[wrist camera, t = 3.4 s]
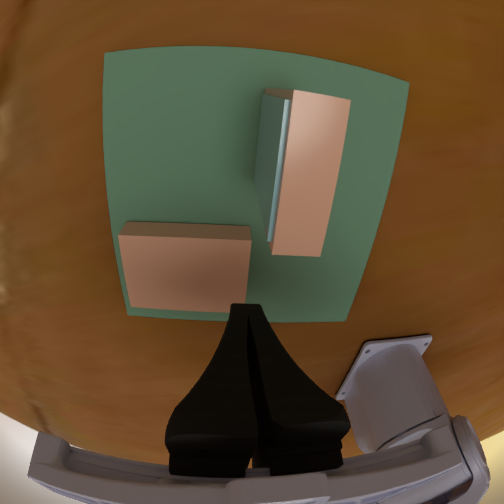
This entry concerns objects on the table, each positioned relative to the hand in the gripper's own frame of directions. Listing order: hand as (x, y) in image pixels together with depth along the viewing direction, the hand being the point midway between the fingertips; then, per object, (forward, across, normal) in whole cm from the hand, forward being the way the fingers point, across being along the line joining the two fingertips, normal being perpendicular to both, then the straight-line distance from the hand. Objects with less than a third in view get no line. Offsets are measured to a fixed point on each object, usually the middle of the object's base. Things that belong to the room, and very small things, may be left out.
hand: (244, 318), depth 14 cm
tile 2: (+5, -1, -8) cm, 9 cm away
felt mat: (+5, 0, -4) cm, 6 cm away
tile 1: (+4, 0, 0) cm, 4 cm away
